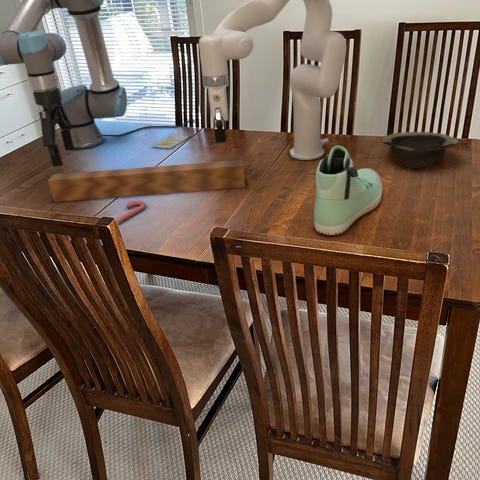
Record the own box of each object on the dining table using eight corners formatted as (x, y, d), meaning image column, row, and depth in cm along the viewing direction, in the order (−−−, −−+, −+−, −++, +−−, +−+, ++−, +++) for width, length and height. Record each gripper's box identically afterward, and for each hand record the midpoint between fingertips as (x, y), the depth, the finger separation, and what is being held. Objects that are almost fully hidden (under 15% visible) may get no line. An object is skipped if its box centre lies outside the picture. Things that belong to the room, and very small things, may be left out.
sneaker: (389, 187, 148) (396, 123, 138) (356, 242, 123) (361, 168, 112) (346, 181, 154) (350, 119, 144) (306, 232, 129) (307, 161, 118)
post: (54, 202, 157) (48, 180, 153) (58, 195, 161) (52, 174, 157) (245, 187, 156) (243, 165, 152) (244, 181, 160) (242, 159, 156)
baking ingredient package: (151, 145, 194) (171, 134, 205) (151, 146, 194) (172, 135, 206) (169, 147, 190) (189, 136, 202) (170, 149, 191) (189, 137, 202)
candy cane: (99, 223, 142) (98, 218, 141) (136, 202, 152) (135, 198, 151) (113, 227, 139) (112, 223, 138) (149, 206, 149) (149, 202, 148)
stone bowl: (418, 179, 151) (419, 150, 147) (365, 160, 172) (365, 135, 167) (473, 159, 160) (476, 132, 156) (417, 144, 180) (418, 120, 176)
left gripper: (44, 99, 130) (65, 172, 141) (69, 78, 151) (85, 143, 162) (17, 101, 130) (39, 174, 141) (46, 80, 151) (63, 144, 162)
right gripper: (228, 86, 133) (233, 145, 142) (228, 73, 148) (232, 126, 157) (202, 88, 133) (208, 147, 142) (203, 74, 148) (209, 128, 157)
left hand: (64, 157), depth 151 cm, fingers open, 13 cm apart
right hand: (221, 136), depth 150 cm, fingers open, 9 cm apart
